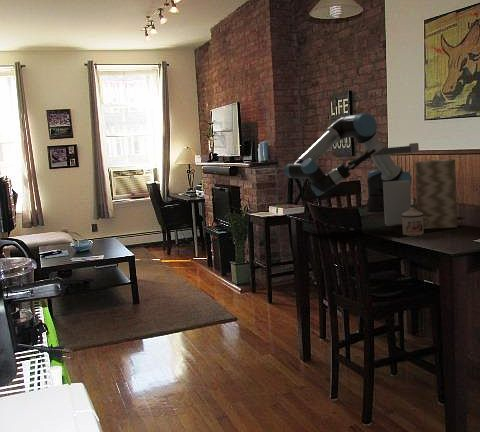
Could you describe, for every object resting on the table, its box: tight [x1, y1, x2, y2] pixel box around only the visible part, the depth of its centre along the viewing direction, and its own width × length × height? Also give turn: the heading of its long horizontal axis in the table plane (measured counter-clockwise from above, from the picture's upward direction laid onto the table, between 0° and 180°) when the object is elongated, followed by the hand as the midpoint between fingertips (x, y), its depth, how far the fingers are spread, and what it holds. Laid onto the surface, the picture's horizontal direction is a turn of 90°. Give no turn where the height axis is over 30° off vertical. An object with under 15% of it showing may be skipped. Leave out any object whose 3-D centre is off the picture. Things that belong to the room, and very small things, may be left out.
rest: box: [383, 180, 412, 227], centre depth 254 cm, size 12×10×20 cm
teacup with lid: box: [401, 207, 430, 237], centre depth 226 cm, size 12×9×12 cm
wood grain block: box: [414, 158, 458, 230], centre depth 237 cm, size 16×9×30 cm, turn 76°
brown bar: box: [365, 142, 420, 156], centre depth 250 cm, size 24×8×4 cm, turn 77°
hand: (380, 145), depth 251 cm, fingers closed on brown bar, 3 cm apart
